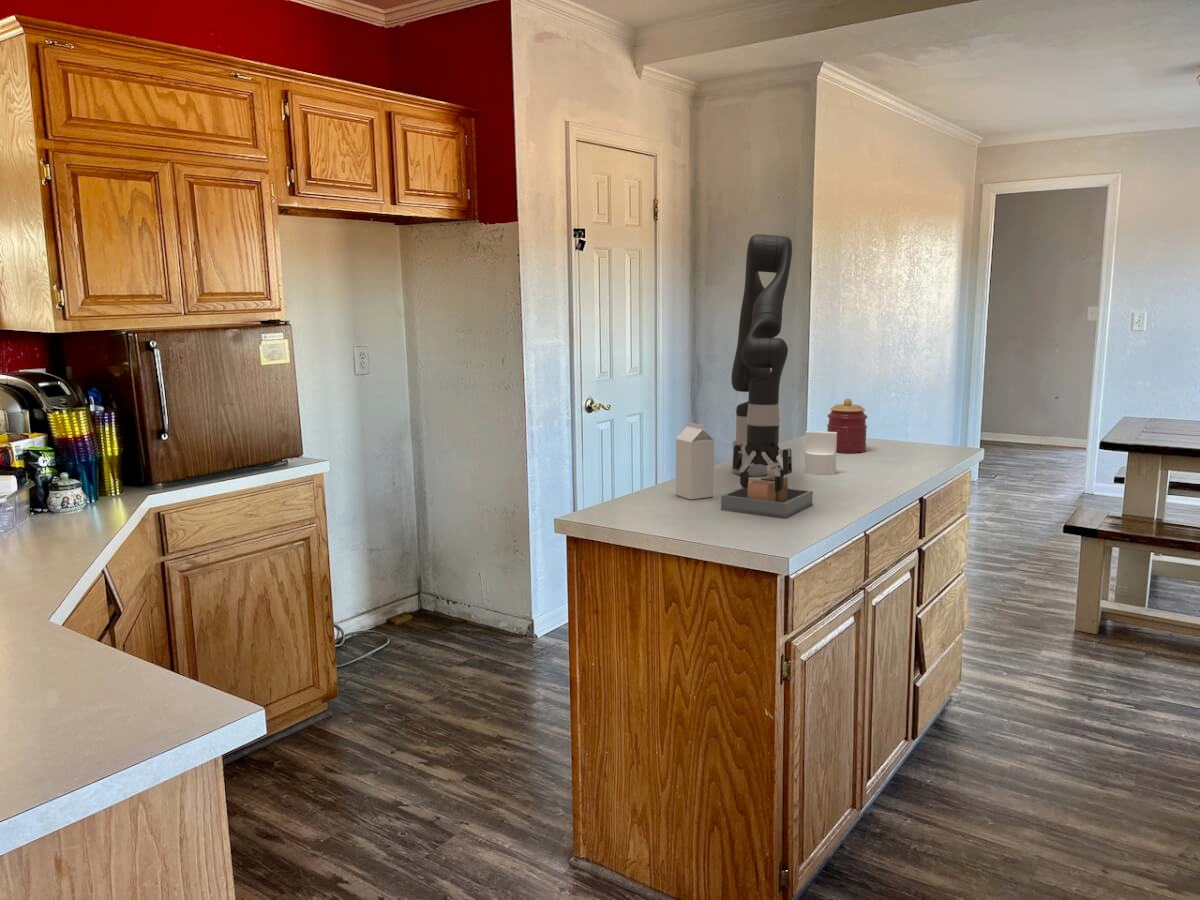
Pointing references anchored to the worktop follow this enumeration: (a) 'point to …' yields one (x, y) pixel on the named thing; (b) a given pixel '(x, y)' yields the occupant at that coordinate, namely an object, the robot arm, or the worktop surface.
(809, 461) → the cylinder with rectangular tab
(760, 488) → the terracotta block
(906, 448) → the worktop surface
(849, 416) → the canister
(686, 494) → the milk carton
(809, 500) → the tray
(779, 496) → the walnut block
